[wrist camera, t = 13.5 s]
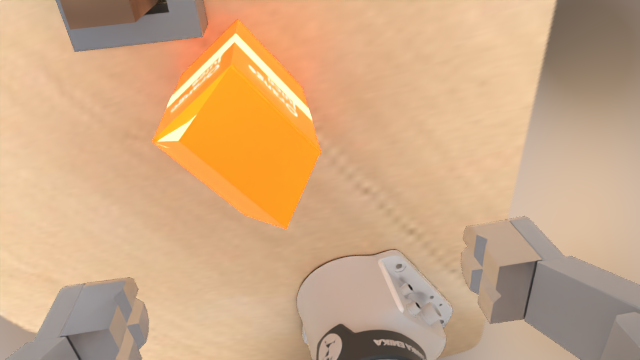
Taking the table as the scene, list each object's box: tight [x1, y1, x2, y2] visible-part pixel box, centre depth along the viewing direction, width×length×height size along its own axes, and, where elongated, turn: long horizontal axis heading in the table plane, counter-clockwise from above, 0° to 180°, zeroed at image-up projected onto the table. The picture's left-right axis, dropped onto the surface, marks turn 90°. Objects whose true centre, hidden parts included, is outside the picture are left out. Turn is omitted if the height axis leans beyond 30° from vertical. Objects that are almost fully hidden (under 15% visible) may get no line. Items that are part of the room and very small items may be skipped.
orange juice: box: [152, 19, 321, 229], centre depth 34 cm, size 8×9×20 cm
